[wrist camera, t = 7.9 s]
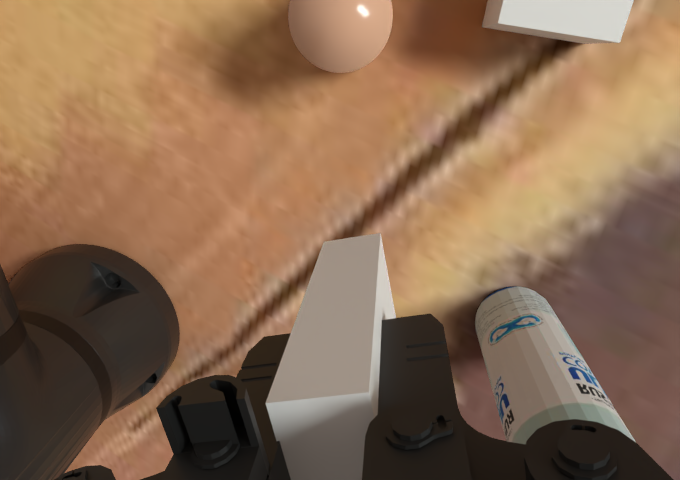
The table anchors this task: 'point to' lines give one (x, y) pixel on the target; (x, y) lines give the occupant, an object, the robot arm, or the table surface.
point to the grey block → (561, 19)
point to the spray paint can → (536, 366)
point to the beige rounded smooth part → (340, 31)
